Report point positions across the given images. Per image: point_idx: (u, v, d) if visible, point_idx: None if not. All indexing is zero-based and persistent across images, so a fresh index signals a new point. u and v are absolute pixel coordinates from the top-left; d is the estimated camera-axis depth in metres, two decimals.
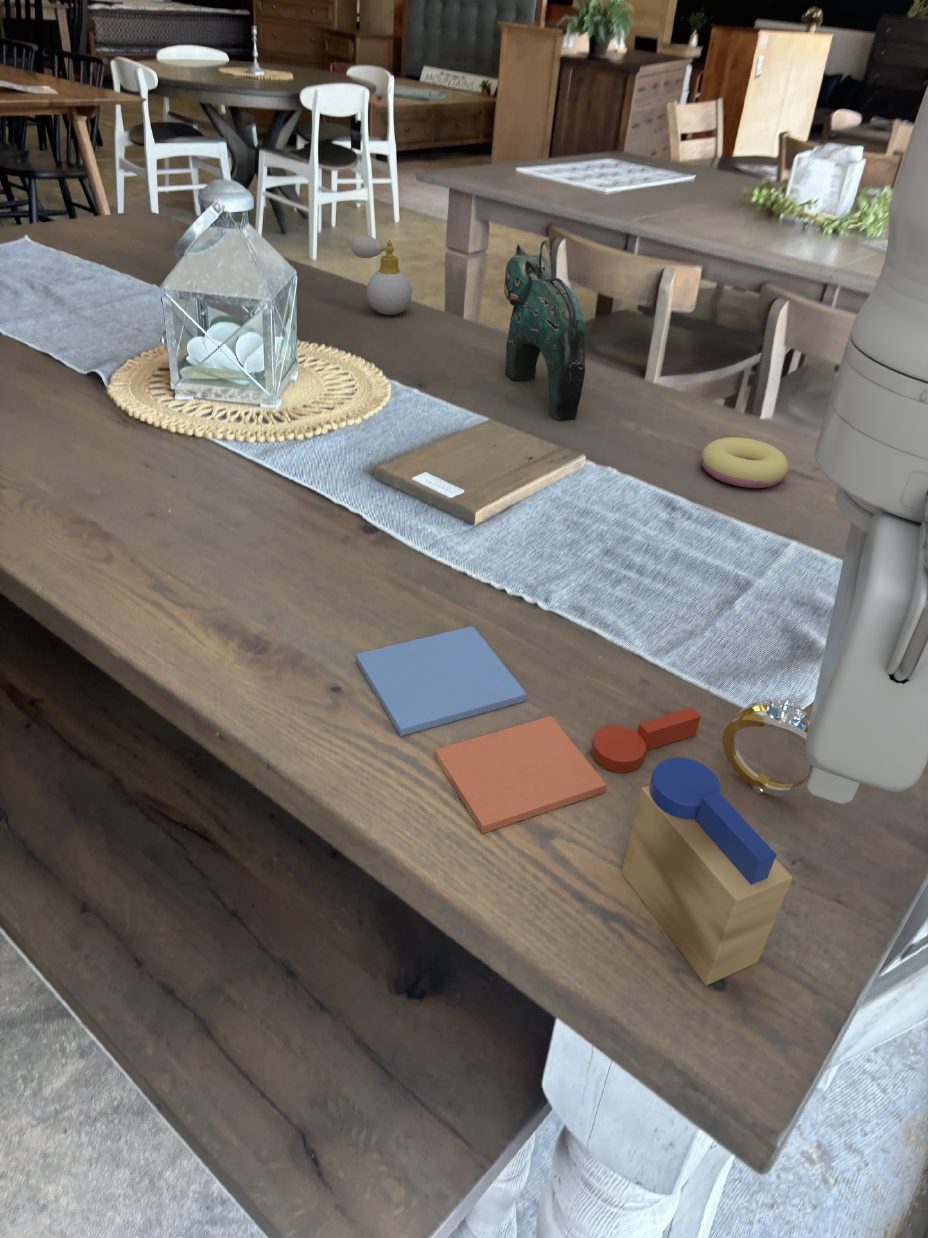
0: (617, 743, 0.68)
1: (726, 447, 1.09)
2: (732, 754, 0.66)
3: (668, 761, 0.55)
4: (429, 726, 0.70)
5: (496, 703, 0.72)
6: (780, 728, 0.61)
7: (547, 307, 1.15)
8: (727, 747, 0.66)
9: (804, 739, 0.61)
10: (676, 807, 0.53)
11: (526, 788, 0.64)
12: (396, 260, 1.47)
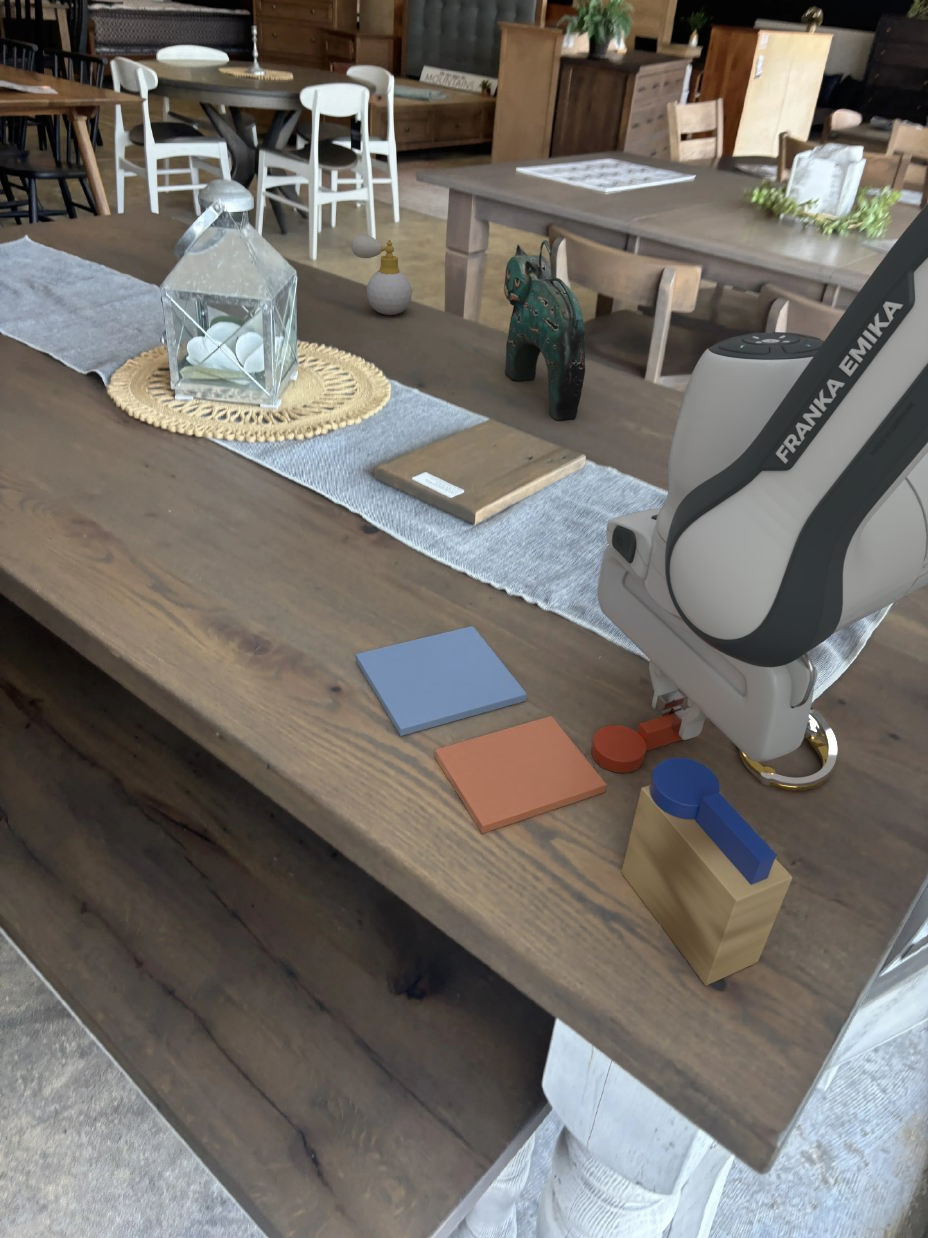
0: (617, 743, 0.68)
1: None
2: None
3: (668, 761, 0.55)
4: (429, 726, 0.70)
5: (496, 703, 0.72)
6: (814, 712, 0.69)
7: (547, 307, 1.15)
8: None
9: (830, 730, 0.69)
10: (676, 807, 0.53)
11: (526, 788, 0.64)
12: (396, 260, 1.47)
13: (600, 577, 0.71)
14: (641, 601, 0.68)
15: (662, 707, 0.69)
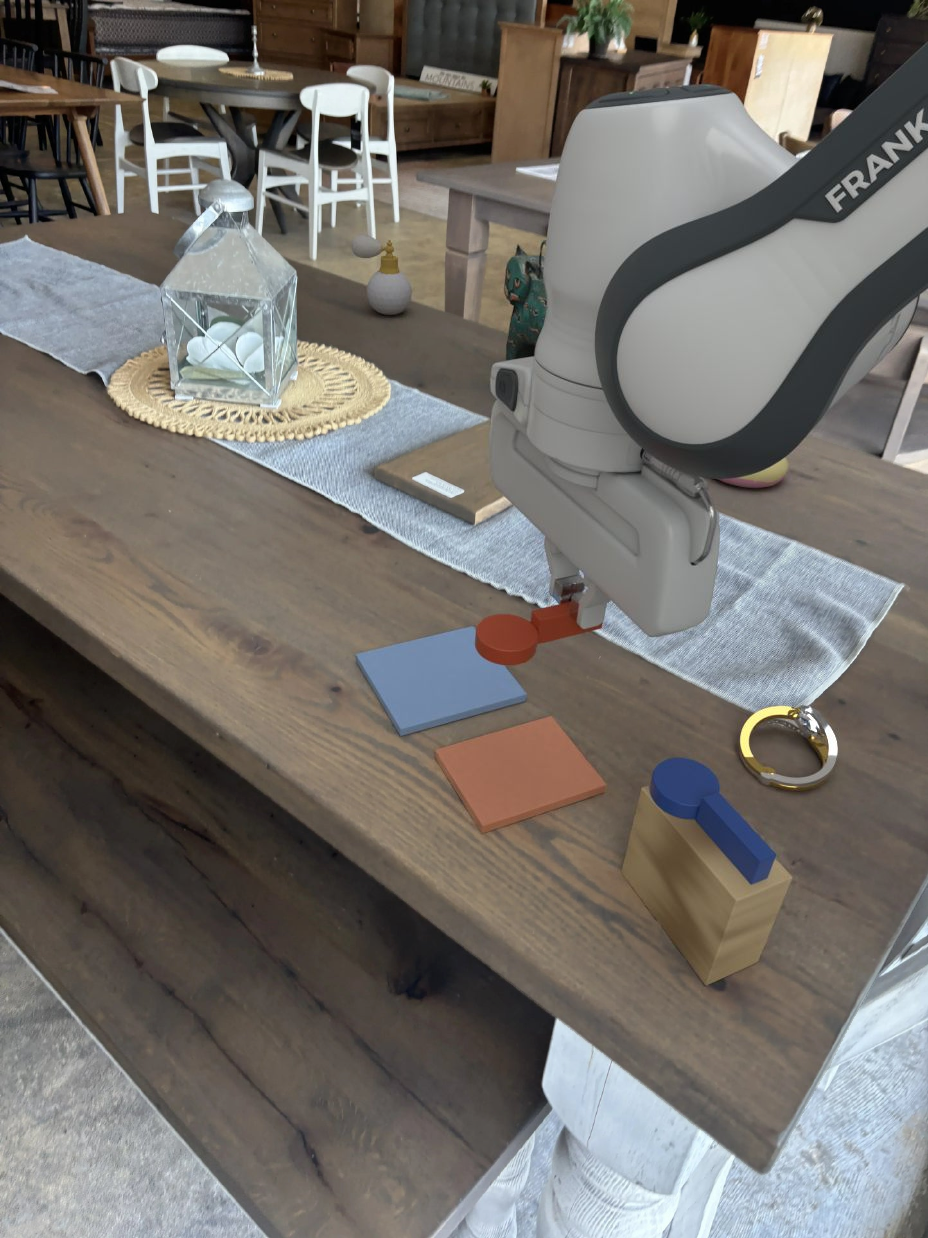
0: (504, 632, 0.58)
1: None
2: (748, 742, 0.69)
3: (668, 761, 0.55)
4: (429, 726, 0.70)
5: (496, 703, 0.72)
6: (814, 712, 0.69)
7: None
8: (745, 735, 0.69)
9: (830, 730, 0.69)
10: (676, 807, 0.53)
11: (526, 788, 0.64)
12: (396, 260, 1.47)
13: (490, 443, 0.61)
14: (532, 464, 0.57)
15: (559, 592, 0.59)
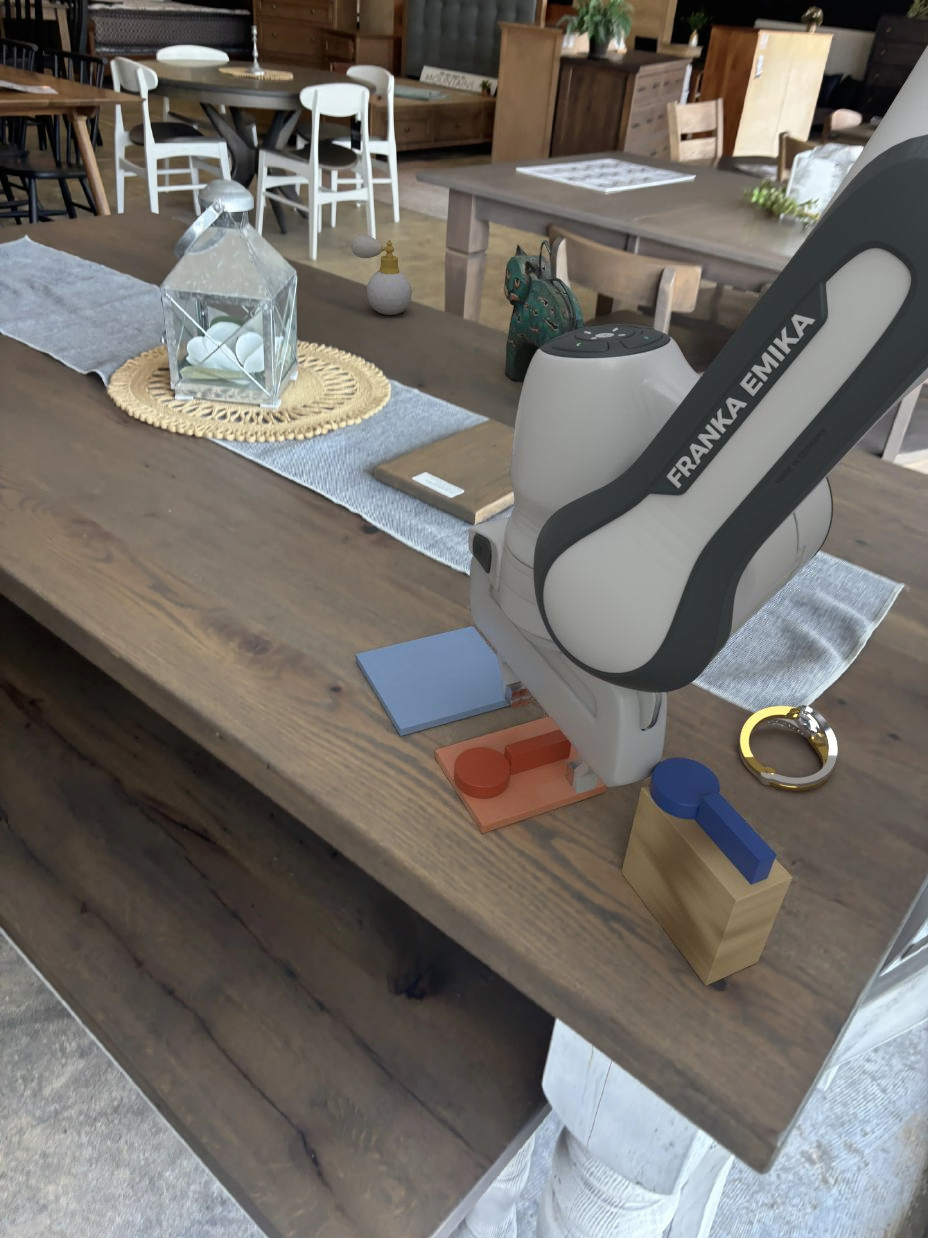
0: (479, 767, 0.64)
1: None
2: (748, 742, 0.69)
3: (668, 761, 0.55)
4: (429, 726, 0.70)
5: (496, 703, 0.72)
6: (814, 712, 0.69)
7: (547, 307, 1.15)
8: (745, 735, 0.69)
9: (830, 730, 0.69)
10: (676, 807, 0.53)
11: (526, 788, 0.64)
12: (396, 260, 1.47)
13: (470, 587, 0.67)
14: None
15: (510, 696, 0.68)
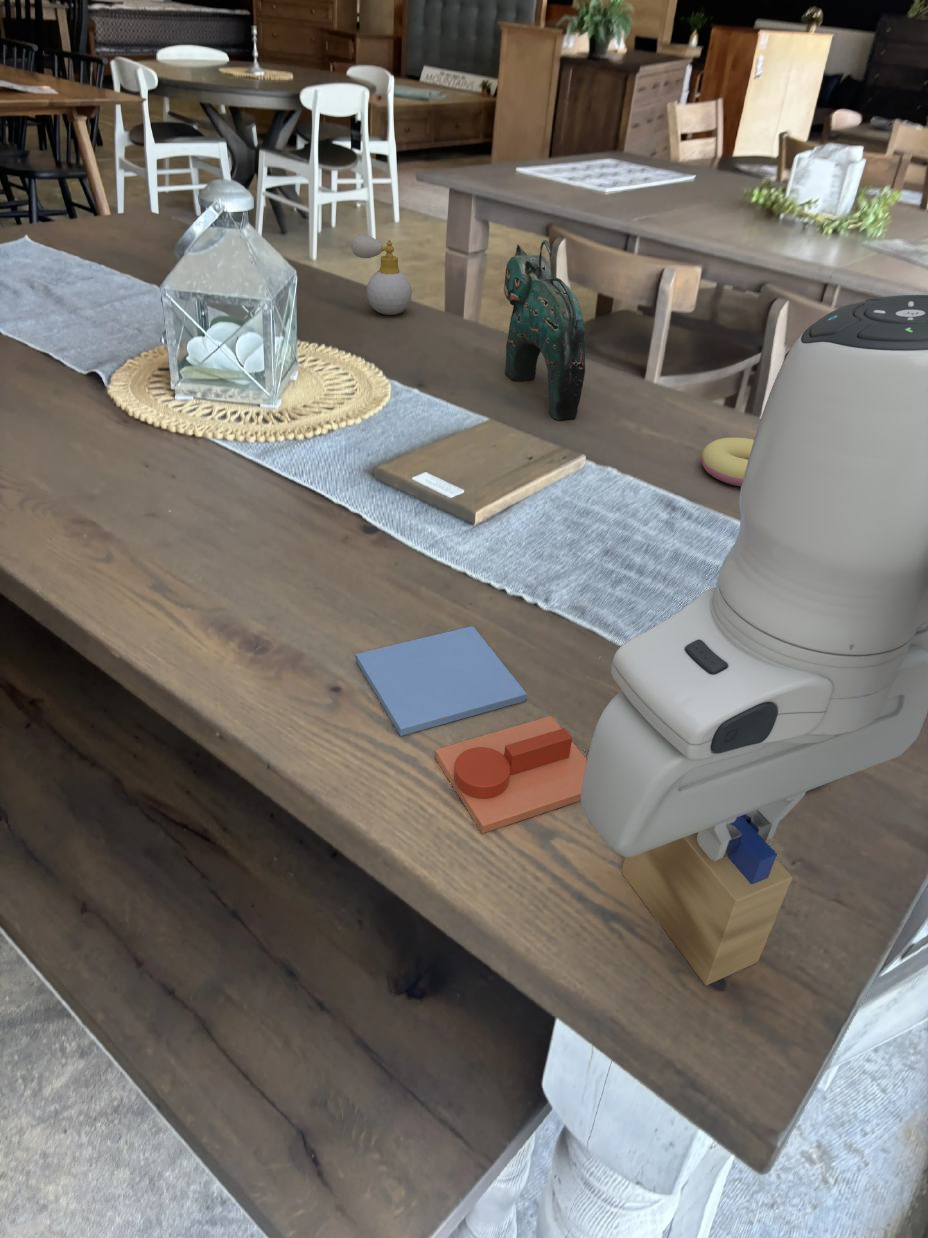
0: (479, 767, 0.64)
1: (726, 447, 1.09)
2: None
3: None
4: (429, 726, 0.70)
5: (496, 703, 0.72)
6: None
7: (547, 307, 1.15)
8: None
9: None
10: None
11: (526, 788, 0.64)
12: (396, 260, 1.47)
13: (641, 821, 0.41)
14: (716, 775, 0.43)
15: (737, 844, 0.50)
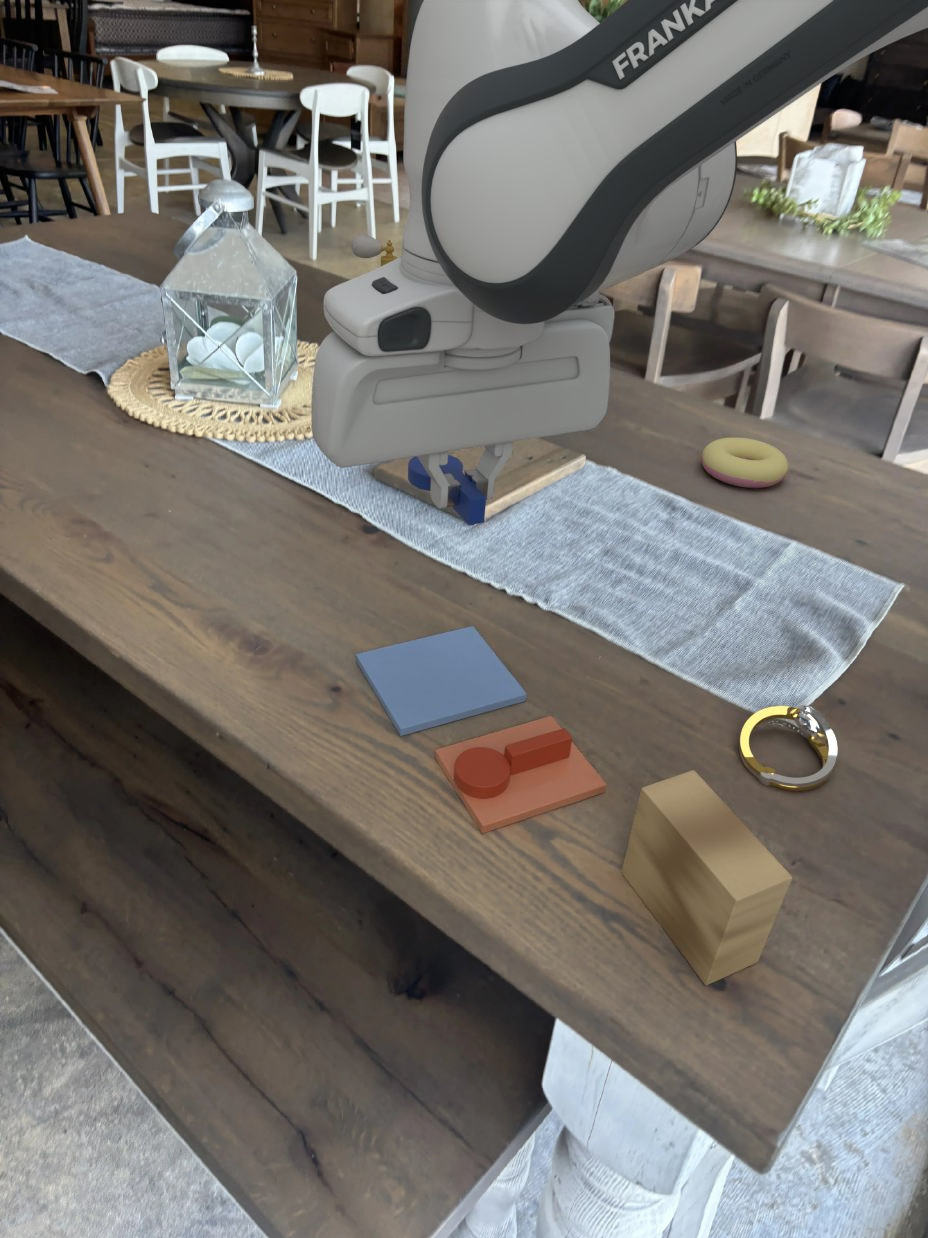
0: (479, 767, 0.64)
1: (726, 447, 1.09)
2: (748, 742, 0.69)
3: None
4: (429, 726, 0.70)
5: (496, 703, 0.72)
6: (814, 712, 0.69)
7: None
8: (745, 735, 0.69)
9: (830, 730, 0.69)
10: (422, 479, 0.65)
11: (526, 788, 0.64)
12: None
13: (340, 421, 0.53)
14: (410, 399, 0.55)
15: (457, 493, 0.61)
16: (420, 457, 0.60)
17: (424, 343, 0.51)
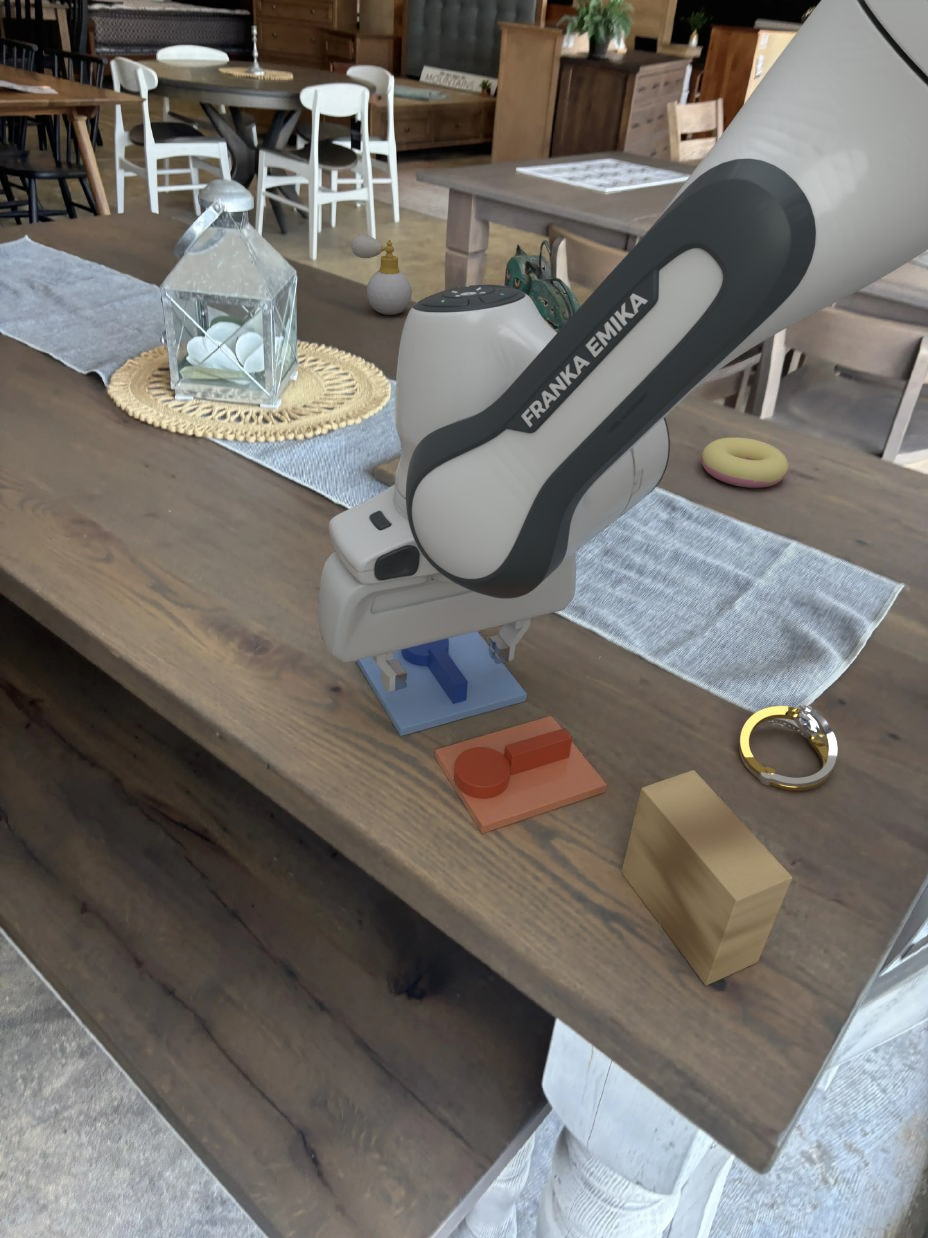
0: (479, 767, 0.64)
1: (726, 447, 1.09)
2: (748, 742, 0.69)
3: None
4: (429, 726, 0.70)
5: (496, 703, 0.72)
6: (814, 712, 0.69)
7: (547, 307, 1.15)
8: (745, 735, 0.69)
9: (830, 730, 0.69)
10: (413, 657, 0.75)
11: (526, 788, 0.64)
12: (396, 260, 1.47)
13: (343, 631, 0.63)
14: (402, 606, 0.65)
15: (404, 679, 0.70)
16: None
17: (413, 571, 0.61)
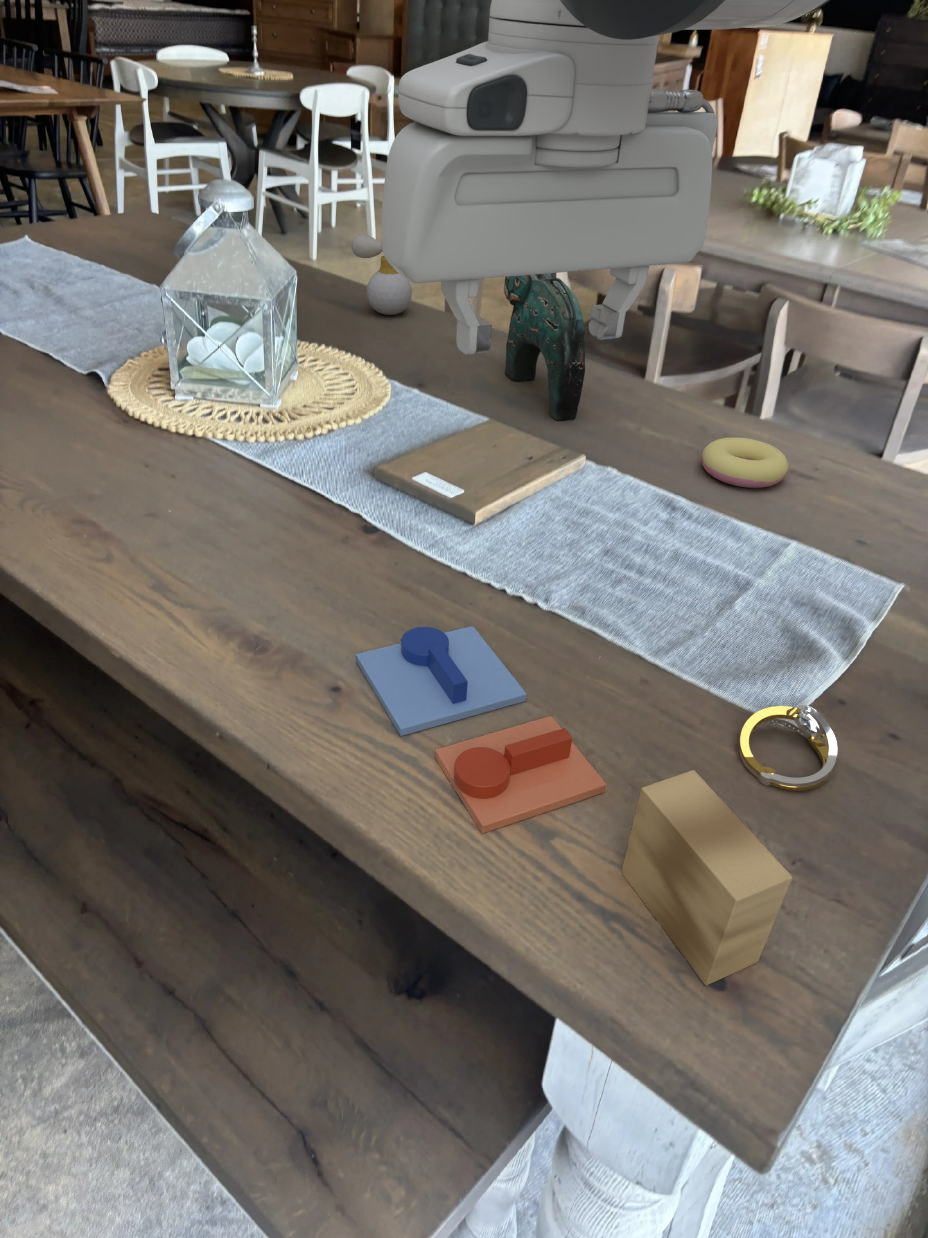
0: (479, 767, 0.64)
1: (726, 447, 1.09)
2: (748, 742, 0.69)
3: (416, 628, 0.77)
4: (429, 726, 0.70)
5: (496, 703, 0.72)
6: (814, 712, 0.69)
7: (547, 307, 1.15)
8: (745, 735, 0.69)
9: (830, 730, 0.69)
10: (413, 657, 0.75)
11: (526, 788, 0.64)
12: None
13: (419, 220, 0.47)
14: (494, 202, 0.49)
15: (488, 336, 0.54)
16: (445, 290, 0.52)
17: (518, 122, 0.45)
